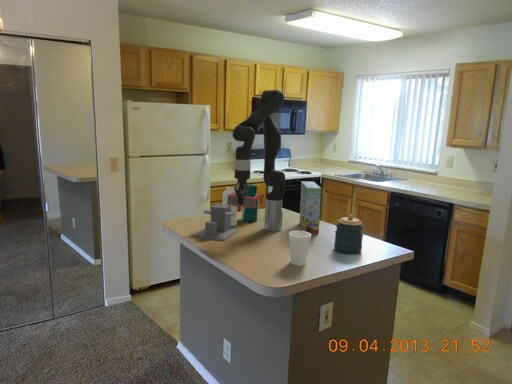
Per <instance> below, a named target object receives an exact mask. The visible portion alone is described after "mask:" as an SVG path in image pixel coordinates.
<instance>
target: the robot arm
mask: <svg viewBox="0 0 512 384" xmlns="http://www.w3.org/2000/svg"><path fill="white" fill-rule="evenodd" d="M284 103H285V94H284V92H283V91H281V89H267V90H264V91H262V93H261V96H260V104H261V106H260V108H259V107H258V109H256V110H254V111H253V112H252V113H250V115H249V116H248V117H247V118H246V119H245V120H243V121H241V122H240V123H239V124H237V125H236V126H235V127H234V128H233V130H232V138H233V140H235V142H236V141H237V142H243V145H242V146H240V145H239V146H237V147H236V149H235V161H234V179H235V180H237V182H236V186H235V185H234V191H235V192H236V196H238V204H239V205H243V196H245V194H247V190H248V186H249V184H250V183H249V182H248V180H249V179H251V163H252V162H251V152H252V151H251V150H252V147H253V144H254V142H255V138H256V133H255V132H256V131H257V130H258V129H259V128H260V127H261V125H263V149H264V151H263V152H264V153H263V154H264V155H263V156H264V157H263V158H264V160H263V162H264V163H263V181H264V184H265V185H266V186H268V187H272V188H271V191H270V192H267V193H266V194H265V201H264V202H265V206H264V225H263V226H264V228H263V229H264V230H265V231H268V232H280V231H281V230H282V229H283V212H282V210H283V197H284V194H285V187H286V174H285V172H284V171H282V170H276V167H275V165H276V163H275V162H276V158H277V156H278V154H279V152H280V150H281V148H282V133H281V131H280V128H279V126H278V125H277V123H276V122H275V120H274V118H273V114H274V113H275V112H276V111H278V110H279V109H280V108H282V106H283V105H284Z"/></svg>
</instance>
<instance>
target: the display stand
mask: <svg viewBox="0 0 512 384" xmlns="http://www.w3.org/2000/svg"><path fill="white" fill-rule="evenodd" d="M203 214H206V215H210V220H207V221H206V222H205V224H204V225H205V226H204V227H205V228H203V229H200V230H199V231H198V232H196V233H194V234H193V237H194V238H202V239H207V240H213V241H221V242H225V241H227V240H228V239H230V238H231V237H232V236H234V235H235V234H237V233H238V232H239V231H240V230H239V229H237V228H232V226H231V217H233V216H234V213H231V206H230V205H223V204H221V203H216V204H214V205H212V206H210V209H204V210H203Z"/></svg>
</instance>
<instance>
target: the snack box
mask: <svg viewBox="0 0 512 384" xmlns="http://www.w3.org/2000/svg"><path fill="white" fill-rule="evenodd" d="M321 197H322V188H321V186H320V185H318V184H317V183H316V182H315V181H306V180H304V181H303V180H302V181H301V182H300V205H299V225H300V226H301V229H302V231H305V232H309V233H310V234H311V235H314V234H315V235H319V233H320V232H319V231H320V218H321V217H320V215H321V201H322V200H321V199H322V198H321Z"/></svg>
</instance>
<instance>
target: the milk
mask: <svg viewBox="0 0 512 384" xmlns="http://www.w3.org/2000/svg"><path fill="white" fill-rule="evenodd" d="M234 192H236V191H235V187H232V186H226V189H225V190H224V191H223V192H222V204H223V205H227V198H228V195H229V194H232V193H234ZM231 213H234V216H233V217H231V227H234V226H237V219H238V217H237V216H238V206H231Z"/></svg>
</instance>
